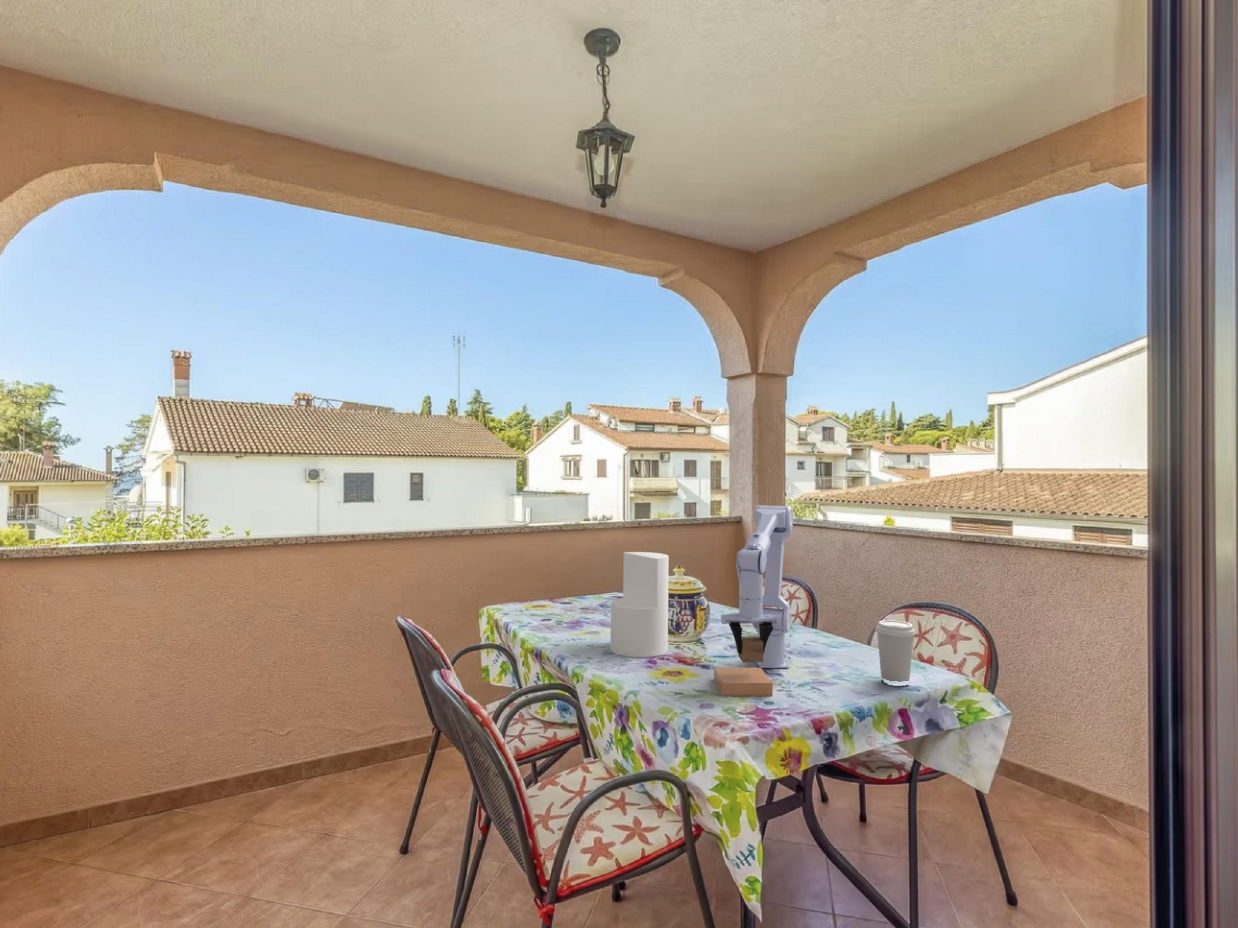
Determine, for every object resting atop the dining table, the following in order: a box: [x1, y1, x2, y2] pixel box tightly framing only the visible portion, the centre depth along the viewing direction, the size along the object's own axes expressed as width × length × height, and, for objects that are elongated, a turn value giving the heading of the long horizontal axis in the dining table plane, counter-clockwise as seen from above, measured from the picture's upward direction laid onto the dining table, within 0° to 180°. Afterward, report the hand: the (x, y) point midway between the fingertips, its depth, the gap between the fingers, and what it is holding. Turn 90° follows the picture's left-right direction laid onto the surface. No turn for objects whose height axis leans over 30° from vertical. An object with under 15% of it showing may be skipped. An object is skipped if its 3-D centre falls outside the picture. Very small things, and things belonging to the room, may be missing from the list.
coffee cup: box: [874, 619, 917, 682], centre depth 164 cm, size 10×10×15 cm
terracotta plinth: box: [713, 666, 774, 697], centre depth 159 cm, size 12×12×3 cm
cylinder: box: [609, 551, 670, 658], centre depth 193 cm, size 17×17×28 cm
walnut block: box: [738, 635, 763, 663], centre depth 159 cm, size 5×5×5 cm
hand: (750, 652), depth 159 cm, fingers closed on walnut block, 5 cm apart
